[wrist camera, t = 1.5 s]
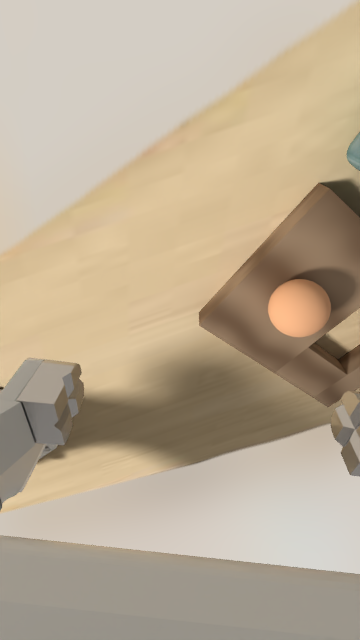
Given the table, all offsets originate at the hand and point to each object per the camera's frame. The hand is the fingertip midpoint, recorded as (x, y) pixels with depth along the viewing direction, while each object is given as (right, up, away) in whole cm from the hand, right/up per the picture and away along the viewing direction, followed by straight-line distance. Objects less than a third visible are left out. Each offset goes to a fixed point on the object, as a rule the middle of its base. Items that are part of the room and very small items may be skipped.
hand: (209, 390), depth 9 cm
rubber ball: (+9, +3, +16) cm, 19 cm away
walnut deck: (+14, +3, +22) cm, 26 cm away
